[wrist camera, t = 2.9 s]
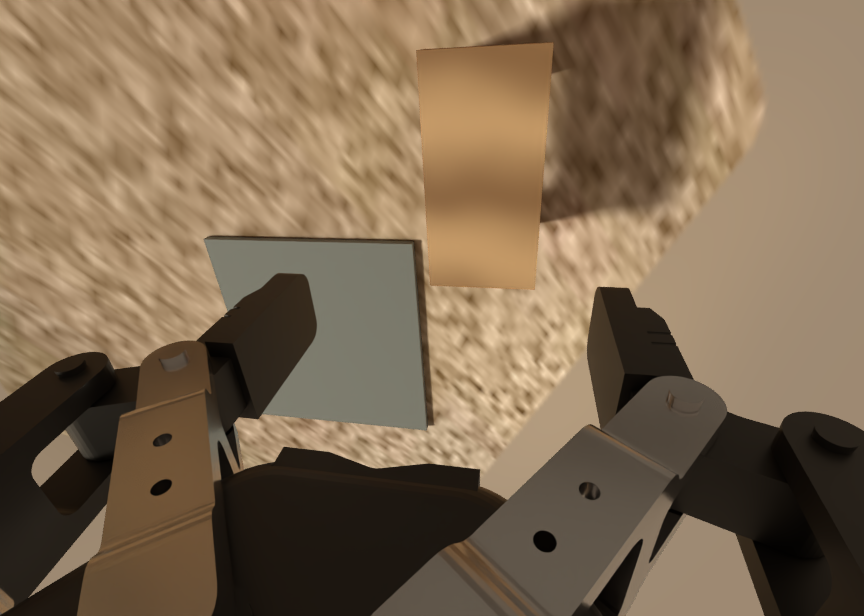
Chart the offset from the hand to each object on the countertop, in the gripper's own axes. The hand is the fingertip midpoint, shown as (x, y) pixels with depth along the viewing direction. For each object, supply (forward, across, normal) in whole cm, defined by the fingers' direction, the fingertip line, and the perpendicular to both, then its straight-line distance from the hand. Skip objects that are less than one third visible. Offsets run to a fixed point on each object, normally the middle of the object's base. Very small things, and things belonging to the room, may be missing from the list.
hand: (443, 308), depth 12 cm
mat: (+21, +15, +17) cm, 31 cm away
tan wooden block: (+21, 0, 0) cm, 21 cm away
